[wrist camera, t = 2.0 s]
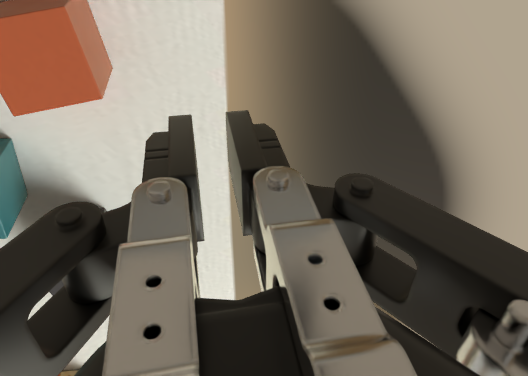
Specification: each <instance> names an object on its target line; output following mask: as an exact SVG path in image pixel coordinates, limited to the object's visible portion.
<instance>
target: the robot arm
mask: <svg viewBox="0 0 528 376" xmlns="http://www.w3.org/2000/svg"><path fill="white" fill-rule="evenodd" d="M226 131H227V148H228V161H229V169H230V174H231V179H232V184H233V188H234V193H235V198H236V203H237V207H238V212H239V217H240V222H241V226H242V231H243V236H246V235H252V236H253V240H254V258H255V263H256V267H257V272H258V277H259V282H260V286H261V291H262V292H260V293H258V294H255V295H253V296H250V297H247V298H245V299H242V300H221V299H206V298H200V289H199V278H198V267H197V258H196V256H197V252H198V247H197V242H198V241H204V232H203V222H202V211H201V201H200V190H199V180H198V170H197V160H196V151H195V143H194V134H193V125H192V116H191V115H180V116H169V131H168V132H155V133H153V134H152V135H151V136H150V137H149V139H148V140H147V141H146V148H145V160H144V168H143V178H142V184H140V185H139V186H137V187H136V189H135V190H134V191H133V194H132V200H131V202H130V203H128V204H126V205H124V206H122V207H120V208H117V209H114V210H111V211H108V212H105V213H101V211H100V209H99V208H98V206H96V205H95V204H92V203H88V202H72V203H68V204H64V205H61V206H59V207H57V208H55V209H53V210H51V211H50V212H48V213H47V214H45V215H44V216H43V217H42V218H40V219H39V220H38V221H36V222H35V223H34V224H32V225H31V226H30V227H28V228H27V229H26V230H24V231H23V232H22V233H20V234H19V235H18V236H16V237H15V238H14V239H13V240H11V241H10V242H9V243H7V244H6V245H5V246H3V247H2V248H1V249H0V376H58V375H59V374H60V373H61V372H62V370H63V369H64V368H65V367H66V366H67V364H68V363H69V362H70V361H71V360H72V359H73V357H74V356H75V355H76V354H77V353H78V351H79V350H80V349H81V348H82V347H83V346H84V344H85V343H86V342H87V341H88V340H89V339H90V337H91V336H92V335H93V334H94V333H95V331H96V330H97V329H98V328H99V327H100V326H101V324H102V323H103V322H104V321H105V320H106V319H107V317H108V316H109V315H110V317H109V325H108V333H107V341H106V342H105V343H104V344H103V345H102V346H101V347H99V348H98V349H97V350H96V351H95V353H94V354H93V355H92V356H91V357H90V358H89V359H88V360H87V361H86V363H85V364H84V365H83V366H82V367H81V368H80V369H79V371H78V372H77V373H76V374H75V375H74V376H528V252H526V251H524V250H522V249H520V248H518V247H516V246H514V245H512V244H510V243H507V242H506V241H504V240H502V239H500V238H498V237H495V236H494V235H491V234H489V233H487V232H485V231H483V230H481V229H479V228H477V227H475V226H473V225H471V224H469V223H467V222H465V221H463V220H461V219H459V218H457V217H455V216H453V215H451V214H449V213H447V212H445V211H443V210H441V209H438V208H437V207H435V206H433V205H430V204H428V203H426V202H424V201H422V200H420V199H418V198H416V197H414V196H412V195H410V194H408V193H406V192H404V191H402V190H400V189H398V188H396V187H394V186H392V185H390V184H387V183H386V182H384V181H382V180H380V179H377V178H375V177H373V176H370V175H366V174H359V173H358V174H356V173H354V174H347V175H344V176H342V177H340V178H339V179H338V180H337V181H336V183H335V188H328V187H319V186H314V185H310V184H307V183H306V182H305V180H304V178H303V176H302V175H301V174H300V173H299V172H298V171H296V170H294V169H292V168H290V166H289V163H288V161H287V159H286V157H285V154H284V152H283V150H282V148H281V145H280V143H279V141H278V138H277V136H276V133H275V131H274V130H273V129H271V128H270V127H269V126H267V125H266V124H253V123H252V120H251V117H250V114H249V112H248V110H245V111H232V112H226ZM378 236H379V237H381V238H383V239H384V240H386V241H388V242H389V243H391V244H393V245H394V246H396V247H398V248H400V249H401V250H403V251H404V252H406V253H408V254H409V255H410V256H411V257H412V258H413V259H414V261H415V263H416V266H417V270H415V269H413V268H412V267H410V266H409V265H407V264H405V263H403V262H402V261H400V260H399V259H397V258H395V257H393V256H392V255H390V254H389V253H387V252H385V251H384V250H382V249H381V248H379V247H377V246H376V243H377V240H378ZM61 280H62V282H63V284H64V286H63V287H62V288H61V289H60V290H59V291H58V292H57V293H56V294H55V295H54V296H52V297H51V298H50V299H49V300H48V301H47V302H46V303H45V304H44V305H43V306H42V307H41V308H40V309H39V310H38V311H37V312H36V313H35V314H34V315H33V316H32V317H31V318H30V319H29V320H28V317H29V314H30V312H31V310H32V308H33V307H34V306H35V305H36V304H37V303H38V302H39V301H40V300H41V299H42V298H43V297H44V296H45V295H46V294H47V293H48V292H49V291H50V290H51V289H52V288H53V287H54V286H55V285H56V284H58V283H59V282H60V281H61ZM372 301H373V302H374V303H376V304H377V305H379V306H380V307H381V308H383V309H384V310H386V311H387V312H389V313H390V314H391V315H393V316H394V317H396V318H397V319H398V320H400V321H401V322H403V323H404V324H405V325H407V326H408V327H410V328H411V329H412V330H414V331H415V332H417V333H418V334H420V335H421V336H422V337H424V338H425V339H427V340H428V341H429V342H428V341H427V340H425V339H424V338H422V337H421V336H419V335H418V334H416V333H414V332H413V331H412V330H410V329H408V328H407V327H405V326H404V325H402V324H401V323H399V322H398V321H396V320H395V319H393V318H391V317H390V316H389V315H387V314H386V313H384V312H383V311H381V310H379V309H378V308H376V307H375V306H374V304H373V302H372ZM430 342H431V343H433V344H434V345H435V346H434V345H433V344H431V343H430ZM437 347H438V348H437ZM440 349H441V350H440Z"/></svg>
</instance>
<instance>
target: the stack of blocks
mask: <svg viewBox="0 0 528 376" xmlns="http://www.w3.org/2000/svg"><path fill="white" fill-rule="evenodd" d="M78 371H79V370H74V371H62V372H61V373H60V374H59V375H58V376H74V375H75V374H76V373H77V372H78Z"/></svg>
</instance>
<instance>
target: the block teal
mask: <svg viewBox="0 0 528 376" xmlns="http://www.w3.org/2000/svg"><path fill="white" fill-rule="evenodd" d="M27 195H28V194H27V190H26V187H25V184H24V180H23V177H22V173H21V170H20V167H19V163H18V160H17V156H16V153H15V150H14V146H13V143H12V139H0V239H6V238H7V237H8V235H9V233H10V231H11V229H12V227H13V225H14V223H15V221H16V219H17V216H18V214H19V212H20V210H21V208H22V206H23V204H24V202H25V200H26V198H27Z"/></svg>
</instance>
